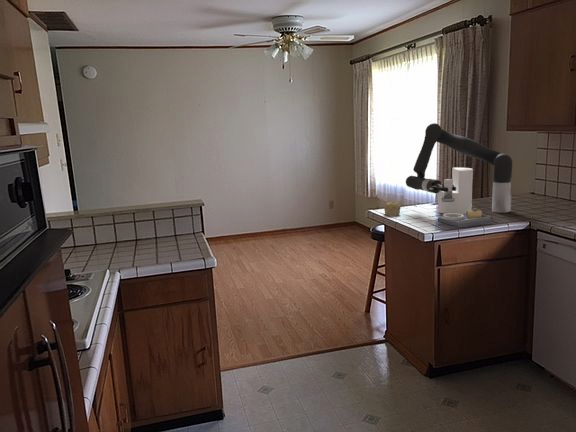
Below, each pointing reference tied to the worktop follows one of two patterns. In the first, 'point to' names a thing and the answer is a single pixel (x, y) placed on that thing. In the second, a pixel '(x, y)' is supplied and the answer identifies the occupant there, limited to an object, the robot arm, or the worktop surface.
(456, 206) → the white stepped tower
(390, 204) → the decorative item
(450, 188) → the grey block on base
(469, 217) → the carrier
